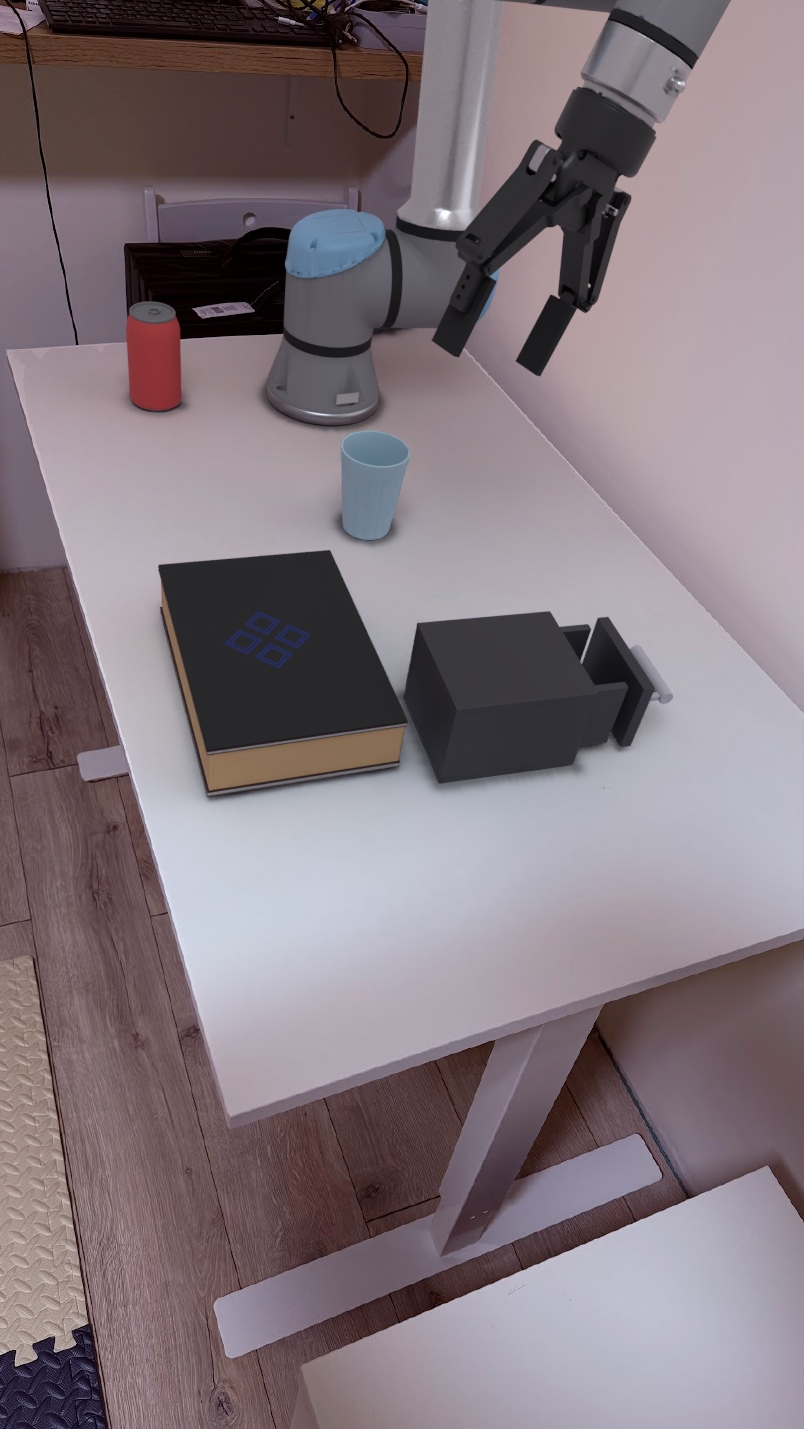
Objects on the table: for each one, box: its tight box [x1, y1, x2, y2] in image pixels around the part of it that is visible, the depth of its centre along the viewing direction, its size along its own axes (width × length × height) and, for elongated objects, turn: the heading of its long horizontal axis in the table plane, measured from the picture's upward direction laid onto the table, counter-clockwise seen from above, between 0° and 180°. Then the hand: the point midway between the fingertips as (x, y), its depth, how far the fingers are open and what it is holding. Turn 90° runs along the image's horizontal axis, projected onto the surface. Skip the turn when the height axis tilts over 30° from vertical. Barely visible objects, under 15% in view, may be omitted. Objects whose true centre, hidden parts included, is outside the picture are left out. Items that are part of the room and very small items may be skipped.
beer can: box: [125, 300, 182, 412], centre depth 128 cm, size 7×7×12 cm
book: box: [157, 549, 409, 798], centre depth 95 cm, size 17×25×7 cm
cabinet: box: [403, 610, 599, 784], centre depth 94 cm, size 13×11×9 cm
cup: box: [340, 429, 411, 541], centre depth 115 cm, size 8×8×10 cm
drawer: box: [559, 616, 674, 748], centre depth 96 cm, size 16×10×8 cm, turn 107°
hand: (488, 360), depth 89 cm, fingers open, 13 cm apart
